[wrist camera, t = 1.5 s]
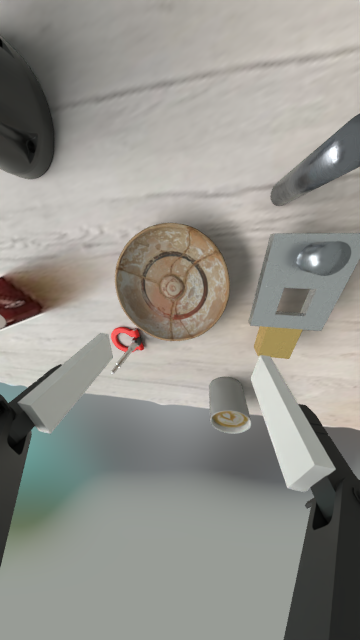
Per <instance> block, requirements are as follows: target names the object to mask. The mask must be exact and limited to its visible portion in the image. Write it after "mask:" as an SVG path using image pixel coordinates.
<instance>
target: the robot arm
mask: <svg viewBox="0 0 360 640" xmlns="http://www.w3.org/2000/svg"><path fill="white" fill-rule="evenodd" d="M53 150H54V133H53V125H52V120H51V115H50V111H49V108H48V105H47V102H46V99H45V96H44V94H43V91H42V89H41V87H40V85H39V83H38V81H37V79H36V77H35V76H34V74H33V72H32V71H31V69H30V68H29V66H28V65H27V63H26V62H25V61H24V59H23V58H22V57H21V56H20V55H19V54H18V53H17V52H16V51H15V50H14V48H13V47H12V46H11V45H10V44H9V43H8V42H7V41H6V40H5V39H4V38H3V37H2V36H1V35H0V169H2V170H4V171H6V172H8V173H11V174H13V175H16V176H19V177H22V178H26V179H34V178H38V177H40V176H41V175H43V174H44V173H45V172H46V170H47V169H48V167H49V165H50V163H51V160H52V156H53ZM112 358H113V355H112V350H111V345H110V341H109V336H108V334H103V333H100V334H99V335H97V336H96V337H95V338H94V339H93V340H91V341H90V342H89V343H88V344H87V345H86V346H84V347H83V348H82V349H81V350H80V351H78V352H77V353H76V354H75V355H74V356H72V357H71V358H70V359H69V360H68V361H66V362H65V363H64V364H63V365H61V364H60V365H58V366H56V367H54V368H52V369H51V370H49V371H48V372H47V373H46V374H44V375H43V377H41V378H39V379H38V380H37V382H34V383H33V384H32V385H31V386H29V387H28V388H27V389H26V390H25V391H23V392H22V393H21V394H20V395H18V396H17V397H16V398H15V399H13V400H12V401H11V402H9V403H7V401H6V400H5V399H4V397H3V396H2V395H0V566H1V562H2V558H3V553H4V549H5V545H6V541H7V536H8V532H9V528H10V524H11V520H12V515H13V511H14V507H15V503H16V498H17V495H18V490H19V486H20V482H21V477H22V473H23V469H24V465H25V460H26V456H27V452H28V448H29V444H30V440H31V435H32V434H31V429H32V428H33V427H34V426H36V427H37V429H38V430H39V431H41V432H45V433H52V431H53V430H54V429H55V428H56V426H57V425H58V424H59V423H60V422H61V420H62V419H63V418H64V416H65V415H66V414H67V413H68V412H69V411H70V409H71V408H72V407H73V406H74V404H75V403H76V402H77V401H78V400H79V398H80V397H81V396H82V395H83V394H84V392H85V391H86V390H87V389H88V387H89V386H90V385H91V384H92V383H93V381H94V380H95V379H96V378H97V376H98V375H99V374H100V373H101V372H102V370H103V369H104V368H105V367H106V365H107V364H108V363H109V362H110V361H111V359H112ZM251 381H252V384H253V387H254V390H255V393H256V396H257V399H258V402H259V405H260V408H261V411H262V414H263V417H264V420H265V423H266V426H267V429H268V432H269V434H270V438H271V440H272V443H273V446H274V449H275V452H276V455H277V458H278V461H279V464H280V467H281V470H282V473H283V476H284V478H285V482H286V484H287V487H288V488H289V489H293V490H297V491H302V492H306V491H307V490H308V489H310V488H311V490H312V492H313V495H314V498H313V499H311V500H310V501H308V502H307V503H306V505H305V506H306V508H309V507H311V510H310V515H309V520H308V525H307V529H306V534H305V539H304V544H303V549H302V554H301V558H300V563H299V568H298V573H297V578H296V583H295V588H294V592H293V597H292V602H291V607H290V612H289V617H288V622H287V626H286V631H285V636H284V640H360V480H358V479H357V477H356V476H355V475H354V474H353V472H352V470H351V469H350V467H349V466H348V464H347V463H346V461H345V460H344V458H343V456H342V455H341V453H340V452H339V450H338V449H337V447H336V446H335V444H334V442H333V441H332V439H331V438H330V437H329V436H328V433H327V432H326V430H325V429H324V427H322V424H321V422H320V421H319V419H318V418H317V416H316V415H315V414H314V413H313V412H312V411H311V410H310V409H309V408H308V407H307V406H306V405H301V404H298V403H297V401H296V400H295V398H294V396H293V395H292V393H291V391H290V389H289V388H288V386H287V384H286V383H285V381H284V379H283V377H282V376H281V374H280V372H279V371H278V369H277V367H276V365H275V364H274V362H273V360H272V359H271V357H270V356H264V355H260V357H259V359H258V362H257V364H256V367H255V369H254V372H253V374H252V376H251Z"/></svg>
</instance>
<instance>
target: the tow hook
mask: <svg viewBox="0 0 360 640" xmlns="http://www.w3.org/2000/svg"><path fill="white" fill-rule="evenodd" d="M119 333H126V334H128V335H129V336H130V337H134V338H133V340H132V344H131V345H130V346H129V347H125V346H123V345H122V344H120V343H119V341H118V339H117V335H118V334H119ZM111 338H112V341H113V343H114V345H115V346H116V347H117V348H118V349H120V350H122V351H124V352H125V353H124V355H123V356H122V357H121V358H120V360H119V361H118V362H117V363H116V366H115V367H114V368H113V370H112V371H111V373H112V374H114V373H115V372H116V370H117V369H118V368H119V367H121V365H122V364H123V363H124V361H125V360H126V359H127V357H128V356H129V355H130V354H131V352H134V351H135V350H137V349H139V350H143V349H144V347H143V344H142V340H141V337H140V335H139V332H138V330H137V329H133V330H130V329H128V328H125V327H118V328H116V329H115V330H114V331H113V332H112V334H111Z"/></svg>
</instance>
